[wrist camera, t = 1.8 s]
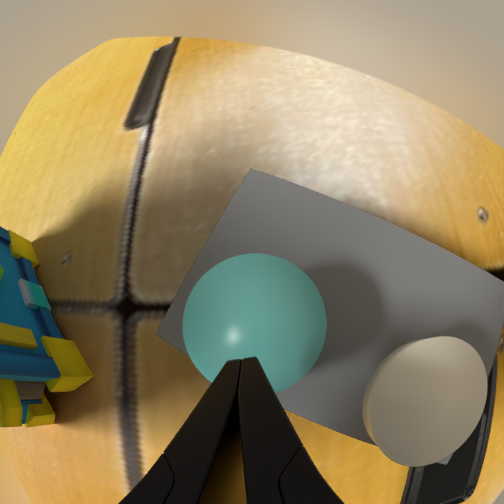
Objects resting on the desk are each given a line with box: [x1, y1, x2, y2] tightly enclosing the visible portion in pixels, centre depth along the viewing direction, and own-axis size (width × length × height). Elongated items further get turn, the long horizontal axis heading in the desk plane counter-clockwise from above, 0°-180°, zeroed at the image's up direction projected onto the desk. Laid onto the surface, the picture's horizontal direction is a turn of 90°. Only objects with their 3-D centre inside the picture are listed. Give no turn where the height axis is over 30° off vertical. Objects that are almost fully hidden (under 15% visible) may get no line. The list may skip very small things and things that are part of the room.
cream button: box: [362, 336, 487, 467], centre depth 10 cm, size 5×5×5 cm
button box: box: [156, 169, 504, 465], centre depth 16 cm, size 11×18×8 cm, turn 62°
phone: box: [400, 355, 497, 504], centre depth 15 cm, size 8×1×15 cm
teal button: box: [182, 253, 327, 393], centre depth 12 cm, size 5×5×5 cm
